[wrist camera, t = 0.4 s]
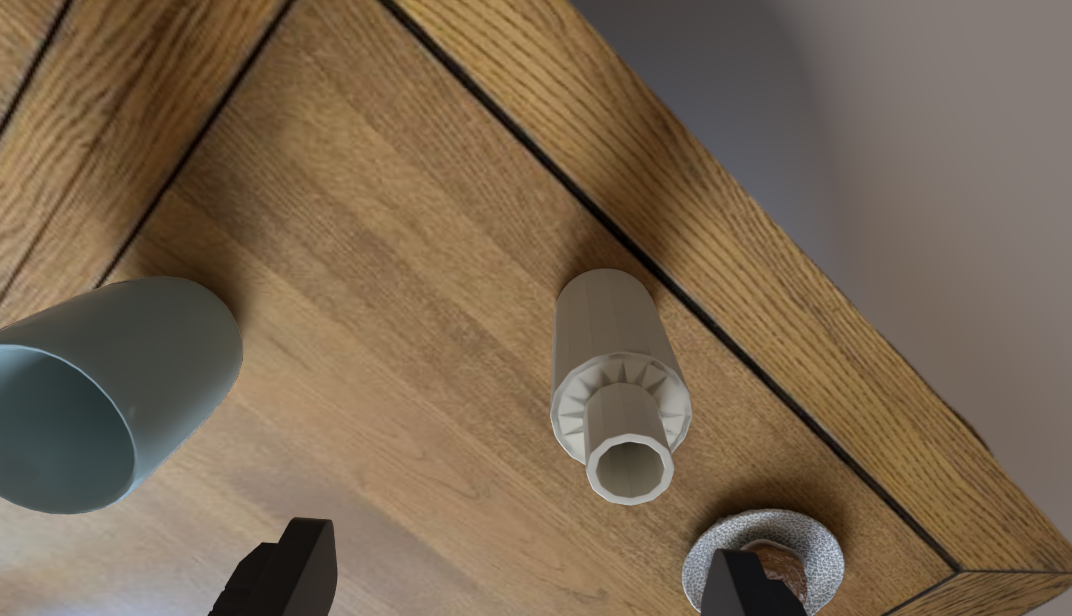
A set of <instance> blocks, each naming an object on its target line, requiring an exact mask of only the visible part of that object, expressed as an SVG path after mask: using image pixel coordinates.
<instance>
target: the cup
mask: <svg viewBox="0 0 1072 616" xmlns="http://www.w3.org/2000/svg"><path fill="white" fill-rule="evenodd" d="M242 361H243V341H242V336H241V332H240V329H239V326H238V324H237V321H236V319H235V318H234V316H233V314H232V312H231V311H230V309H229V308H228V307H227V306H226V304H225V303H224V302H223V301H222V300H221V299H220V298H219V297H218V296H217V295H216V294H215V293H214V292H213V291H211V290H210V289H208V288H207V287H205V286H204V285H201V284H199V283H197V282H194V281H192V280H188V279H184V278H179V277H175V276H147V277H140V278H133V279H128V280H123V281H119V282H116V283H112V284H109V285H106V286H103V287H100V288H97V289H94V290H91V291H88V292H86V293H83V294H80V295H78V296H75V297H72V298H70V299H67V300H65V301H62V302H60V303H58V304H55V305H53V306H51V307H48V308H46V309H44V310H41V311H39V312H37V313H35V314H32V315H30V316H28V317H26V318H24V319H21V320H19V321H17V322H15V323H13V324H10V325H8V326H6V327H4V328H2V329H0V496H1V497H2V498H4V499H6V500H8V501H10V502H12V503H14V504H16V505H19V506H22V507H25V508H28V509H31V510H34V511H40V512H45V513H50V514H78V513H87V512H91V511H95V510H99V509H102V508H106V507H108V506H110V505H112V504H114V503H116V502H118V501H120V500H122V499H123V498H125V497H126V496H128V495H129V494H130V493H131V492H133V491H134V490H135V489H136V488H137V487H138V486H140V485H141V484H142V483H143V482H144V481H145V480H147V479H148V478H149V477H150V476H151V475H152V474H153V473H154V472H155V471H156V470H157V469H158V468H159V467H160V466H162V465H163V464H164V463H165V462H166V461H167V460H168V459H169V458H170V457H171V456H172V455H173V454H174V453H175V452H176V451H177V450H178V449H179V448H180V447H181V446H182V445H183V444H184V443H185V442H186V441H187V440H188V439H189V438H190V437H191V436H192V435H193V434H194V433H195V432H196V431H197V430H198V429H199V428H200V427H201V426H202V425H203V424H204V422H205V421H206V420H207V419H208V418H209V417H210V416H211V415H212V414H213V412H214V411H215V410H216V409H217V407H218V406H219V405H220V404H221V402H222V401H223V399H224V398H225V397H226V395H227V394H228V392H229V391H230V389H231V388H232V386H233V385H234V383H235V381H236V379H237V377H238V375H239V371H240V368H241V365H242Z"/></svg>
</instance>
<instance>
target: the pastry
mask: <svg viewBox="0 0 1072 616" xmlns="http://www.w3.org/2000/svg"><path fill="white" fill-rule="evenodd" d="M717 548H723V549H737V550H751V551H754V552H755V553H756V554H757V555H758V557H759V559H760V562H761V564H762V567H763V569H764V571H765V574H766V576H767V579H776V580H782V581H783V582H784V583H785V584H786V585H787V587H788V588H789V589H790V590H791V591H792V592H793V593H794V594H795V596H796V597H797V598H798V599H799V600H800V601H801V602H802V604H803V606H804V609H805V611H806V613H807V615H808V616H812V615H814V614H815V613H816V612H818V611H819V610H820V609H821V607H823V606H824V605H825V604H826V603H828V601H830V600H831V598H832V597H833V596H834V594H835V592H836V590H837V588H838V587H839V585H840V584H841V581H842V579H843V575H844V570H845V561H844V555H843V552H842V549H841V547H840V545H839V543H838V540H837V539H836V537H835V536H834V535H833V534H832V533H831V532H830V531H829V530H828V529H827V528H826V527H825V526H824V525H823V524H821V523H820V522H818V521H817V520H815V519H813V518H811V517H809V516H806V515H804V514H802V513H799V512H798V513H797V512H793V511H791V510H782V509H760V510H754V509H747V510H745V511H744V512H740V513H739V514H737V515H728V516H727V517H726V518H724V517H721V518H718V519H717V520H716V522H715V523H714V524H712V525H711V526H710V528H709V529H708V530H707V531H706V532H704V533H703V534H702V535H701V536H700V537H698V539H697V540H696V542H695V543H694V544H693V546H692V547H691V549H690V550H689V552H688V554H687V556H686V559H685V562H684V564H683V569H682V584H683V588H684V591H685V593H686V596H687V597H688V599H689V600H690V602H691V604H692V605H693V606H694V608H695V609H696V610H697V611H699V612H700V613H701V600H702V595H703V591H704V588H705V584H706V580H707V577H708V573H709V569H710V565H711V562H712V558H713V554H714V552H715V550H716V549H717Z"/></svg>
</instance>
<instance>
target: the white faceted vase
mask: <svg viewBox="0 0 1072 616" xmlns="http://www.w3.org/2000/svg"><path fill="white" fill-rule="evenodd" d="M550 418H551V421H552V425H553V429H554V433H555V437H556V439H557V440H558V441H559V442H560V444H561V445H562V446H563V447H564V449H565V450H566V451H567V452H568V454H569V455H570V456H571V457H572V458H574V459H576V460H578V461H580V462H581V463H583V464H585V465H586V474H587V476H588V479H589V481H590V484H591V486H592V489H593V490H594V491H596V492H597V493H598V494H600V495H601V496H602V497H604V498H605V499H607V500H608V501H610V502H614V503H620V504H626V505H635V504H639V503H643V502H647V501H651V500H653V499H655V498H656V497H657V496H658V495H659V494H661V493H662V492H663V491H664V490H665V489H666V488H668V487H669V485H670V482H671V479H672V476H673V473H674V469H675V465H674V462H673V458H672V455H671V454H672V452H673V451H674V450H675V449H676V448H677V447H678V446H679V445H680V443H681V442H682V441H683V440H684V439H685V437H686V434H687V431H688V428H689V425H690V421H691V418H692V407H691V400H690V394H689V390H688V387H687V385H686V382H685V380H684V377H683V375H682V372H681V370H680V367H679V365H678V362H677V360H676V357H675V355H674V352H673V350H672V347H671V345H670V342H669V340H668V337H667V335H666V332H665V330H664V327H663V325H662V322H661V320H660V317H659V315H658V312H657V310H656V307H655V305H654V302H653V300H652V298H651V296H650V295H649V293H648V291H647V289H646V288H645V287H644V285H643V284H642V283H641V282H640V281H639V280H637V279H636V278H635V277H633V276H632V275H630V274H628V273H626V272H623V271H620V270H616V269H609V268H601V269H594V270H591V271H587V272H585V273H582V274H580V275H579V276H577V277H575V278H574V279H573V280H571V281H570V282H569V283H568V284H567V285H566V286H565V288H564V289H563V290H562V292H561V293H560V295H559V297H558V300H557V302H556V306H555V313H554V320H553V347H552V373H551V400H550Z"/></svg>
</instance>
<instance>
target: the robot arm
mask: <svg viewBox="0 0 1072 616" xmlns="http://www.w3.org/2000/svg"><path fill="white" fill-rule="evenodd" d="M336 585H337V561H336V550H335V539H334V528H333V522H332V520H328V519H314V518H300V517H294V518H293V519H292V520H291V521H290V522H289V524H288V526H287V527H286V529H285V531H284V533H283V535H282V537H281V538H280V540H279V542H278V543H265V542H262V543H261V544H260V545H259V546H257V547H256V548H255V549H254V550H253V551H252V552H251V553H250V554H248V555H247V556H246V557H245V558H244V559H243V560H242V561H240V562H239V564H238V566H237V567H236V569H235V571H234V572H233V574H232V576H231V577H230V579H229V581H228V582H227V584H226V586H225V590H224V591H222V592H221V594H220V596H219V597H218V599H217V601H216V602H215V604H214V606H213V610H212V611H210V612H209V614H208V616H328V613H329V610H330V608H331V605H332V602H333V599H334V595H335V591H336ZM701 616H808V615H807V613H806V611H805V609H804V606H803V604H802V602H801V601H800V600H799V599H798V598H797V597H796V596H795V594H794V593H793V592H792V591H791V590H790V589H789V588H788V587H787V585H786V584H785V583H784V582H783V581H782V580H776V579H767V576H766V574H765V571H764V569H763V567H762V564H761V562H760V559H759V557H758V555H757V554H756V553H755V552H754V551H751V550H737V549H723V548H717V549H716V550H715V552H714V554H713V558H712V562H711V565H710V569H709V573H708V577H707V580H706V584H705V588H704V591H703V595H702V600H701Z"/></svg>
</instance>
